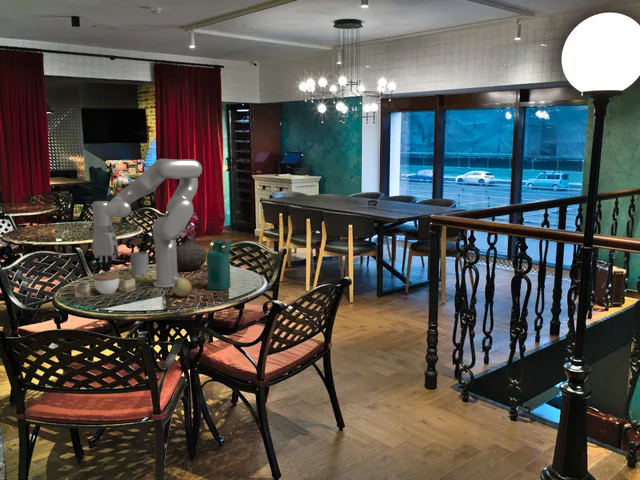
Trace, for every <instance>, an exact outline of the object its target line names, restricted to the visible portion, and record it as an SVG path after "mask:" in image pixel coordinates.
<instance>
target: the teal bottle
mask: <svg viewBox="0 0 640 480" xmlns="http://www.w3.org/2000/svg"><path fill="white" fill-rule="evenodd" d="M211 243H212V244H213V250H210V251H208V252H207V253H206V269H207V289H208V290H211V291H225V290H227V289H229V288H231V263H230V262H231V260H230V259H231V256H230V251H231V248H232V240H231V239H228V240H225V241H224V240H220V239H219V240H212V241H211ZM223 245H225V246H224V247H225V248H224V249H223Z"/></svg>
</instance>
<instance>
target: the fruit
mask: <svg viewBox="0 0 640 480" xmlns="http://www.w3.org/2000/svg"><path fill="white" fill-rule="evenodd" d="M172 291H173V293H174V294H175V295H176V296H178V297H180V298H181V297H182V298H184V297H188V296H190V295H191V294H192V292H193V284H192V282H191V281H190V280H188V279H187V278H185V279H178V280H177V281H176V282H175V284H174V286H173V287H172Z"/></svg>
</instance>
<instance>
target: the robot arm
mask: <svg viewBox="0 0 640 480" xmlns="http://www.w3.org/2000/svg"><path fill="white" fill-rule="evenodd" d="M202 172H203V166H202V163H200V162H199V161H198V160H196V159H187V158H185V159H172V158H159V159H157V160H155V161H154V162H153V163H152V164H151V165H150V166H149V167H148V168H146V170H145V171H144V172H142V173H141V174H140V175H139V176H138V177H137V178H136V179H135V180H133V181H132V182H130V183H129V184H128V185H127V186H125V187H124V188H122V189H121V190H120V191H119V192H118V193H117V194H116V195H115V196H114V197H113V198H112V199H111V200H109V201H108V200H98V201H94V202H93V203H92V217H93V218H92V219H93V230H94V232H93V234H92V253H93V255H94V258H96V259H98V260H99V261H100V263H101V269H102V272H104V273H105V272H110V271H111V262H112V260H114V259H117V258H118V256H117V255H118V254H119V245H118V239H117V236H116V233H115V232H114V231H115V227H113V218H125V217H128V216H129V215H130V213H131V212H132V206H131V205H132V204H133V203H135V202H136V201H137V200H139V199H140V198H142V197H145V196H148V195H150V194H151V193H152V192H154V191H155V189H156V188H157V187H159V185H161V184H162V183H163V182H164V181H165V180H166V179H178V180H179V183H178V186H177V188H176V190H175V191H174V193H173V195H172V196H171V198H170V200H169V201H168V202H167V205H166V211H167V213H168V215H167V216H160V217H158V218H156V219H155V221H154V222H153V224H152V234H153V240H154V253H155V254H154V255H155V270H156V271H155V272H156V280H155V281H153V283H152V284H153V285H152V286H153V287H156V288H173V286H174V284H175V282H176V281H177V280H178V279H186V278H185V277H183V276H180V274H179V273H178V266H177V249H176V248H177V241H176V240H177V239H178V238H179V237H181V233H183V230H184V229H185V227H186V225H187V224H188V222H189V220H190V218H191V217H193V216H192V214H193V212H194V209H195V208H194V204H193V202H192V201H193V199H194V197H195V195H196V194H197V192H198V191H197V190H198V188H199V186H198V185H199V181H198V177H200V175H201V174H202Z"/></svg>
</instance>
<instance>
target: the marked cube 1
mask: <svg viewBox="0 0 640 480" xmlns="http://www.w3.org/2000/svg"><path fill="white" fill-rule="evenodd" d="M92 293H93V291H92V283H91V282H79V283H77V284H75V285H74V294H75V295H74V296H75V298H87V297H89V296H91V295H92Z"/></svg>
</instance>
